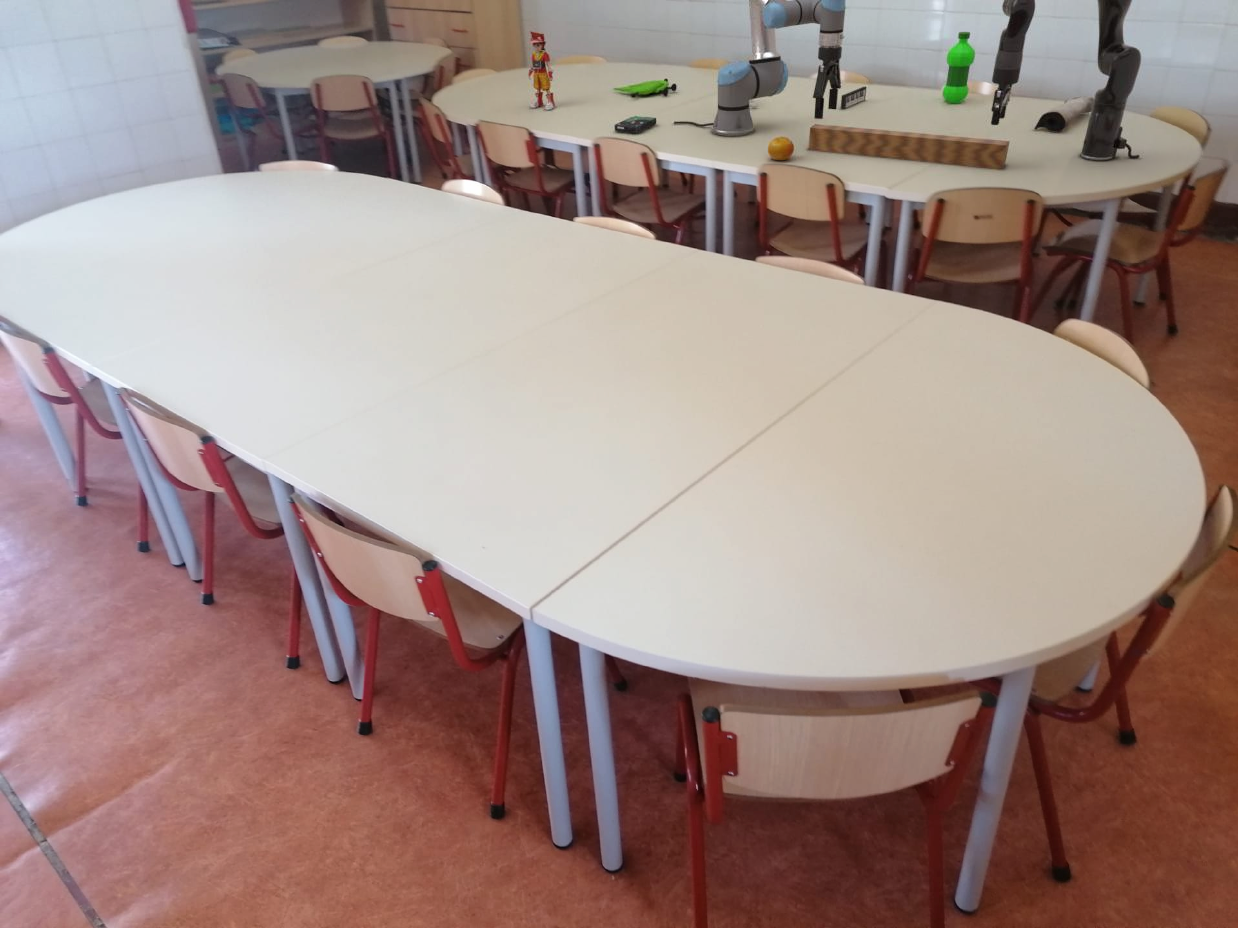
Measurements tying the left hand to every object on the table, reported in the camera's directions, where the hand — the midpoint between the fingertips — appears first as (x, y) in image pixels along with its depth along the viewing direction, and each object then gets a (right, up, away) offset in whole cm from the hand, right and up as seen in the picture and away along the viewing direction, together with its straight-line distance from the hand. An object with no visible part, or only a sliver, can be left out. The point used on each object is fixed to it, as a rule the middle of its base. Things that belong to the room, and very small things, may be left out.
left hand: (825, 114), depth 305 cm
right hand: (+48, -12, -26) cm, 56 cm away
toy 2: (-61, +45, +92) cm, 119 cm away
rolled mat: (+91, +4, +18) cm, 92 cm away
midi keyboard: (+24, +25, +54) cm, 64 cm away
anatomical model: (-20, +28, +63) cm, 71 cm away
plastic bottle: (+62, +24, +49) cm, 83 cm away
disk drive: (-64, +10, +41) cm, 77 cm away
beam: (+25, -17, -6) cm, 30 cm away
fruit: (-16, -16, -1) cm, 22 cm away
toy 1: (-103, +33, +77) cm, 133 cm away
